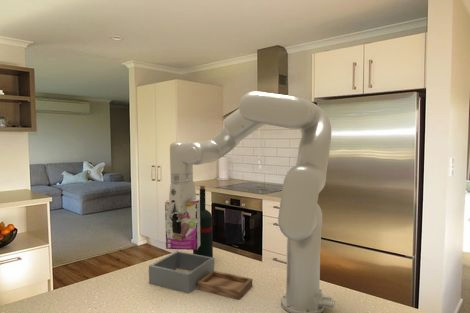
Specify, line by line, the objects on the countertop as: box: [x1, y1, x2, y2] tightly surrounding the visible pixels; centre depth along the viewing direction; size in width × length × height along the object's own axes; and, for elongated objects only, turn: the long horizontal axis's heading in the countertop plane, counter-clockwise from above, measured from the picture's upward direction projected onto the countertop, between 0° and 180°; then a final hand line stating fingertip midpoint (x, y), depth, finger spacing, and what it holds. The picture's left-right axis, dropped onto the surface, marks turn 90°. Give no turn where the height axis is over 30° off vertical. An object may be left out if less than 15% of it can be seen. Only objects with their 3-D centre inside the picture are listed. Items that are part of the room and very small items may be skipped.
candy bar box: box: [164, 199, 200, 251], centre depth 115 cm, size 11×5×16 cm, turn 84°
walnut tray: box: [196, 270, 253, 301], centre depth 110 cm, size 15×10×2 cm, turn 64°
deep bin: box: [148, 250, 215, 294], centre depth 116 cm, size 16×16×6 cm
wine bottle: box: [192, 185, 214, 258], centre depth 131 cm, size 8×10×30 cm
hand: (183, 229), depth 115 cm, fingers closed on candy bar box, 6 cm apart
